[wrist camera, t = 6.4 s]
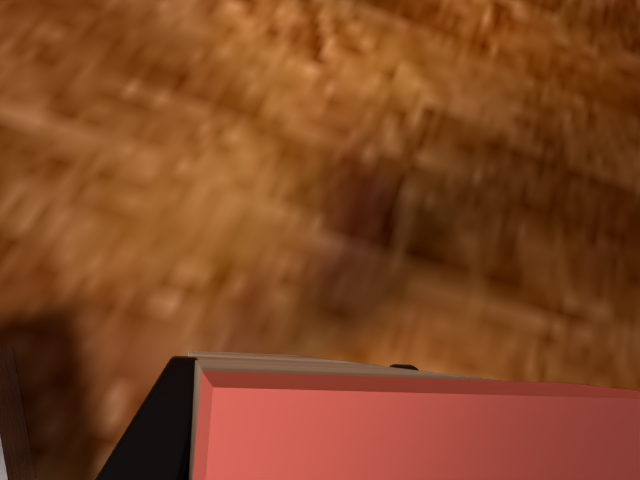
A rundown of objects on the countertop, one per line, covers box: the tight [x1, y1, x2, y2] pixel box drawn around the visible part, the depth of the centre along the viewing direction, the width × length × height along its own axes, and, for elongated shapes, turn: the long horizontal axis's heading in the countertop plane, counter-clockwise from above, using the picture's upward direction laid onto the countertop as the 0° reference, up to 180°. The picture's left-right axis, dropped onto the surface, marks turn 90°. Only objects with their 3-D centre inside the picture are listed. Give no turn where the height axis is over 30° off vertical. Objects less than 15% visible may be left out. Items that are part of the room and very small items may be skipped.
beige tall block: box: [187, 351, 640, 480], centre depth 10 cm, size 3×3×14 cm
